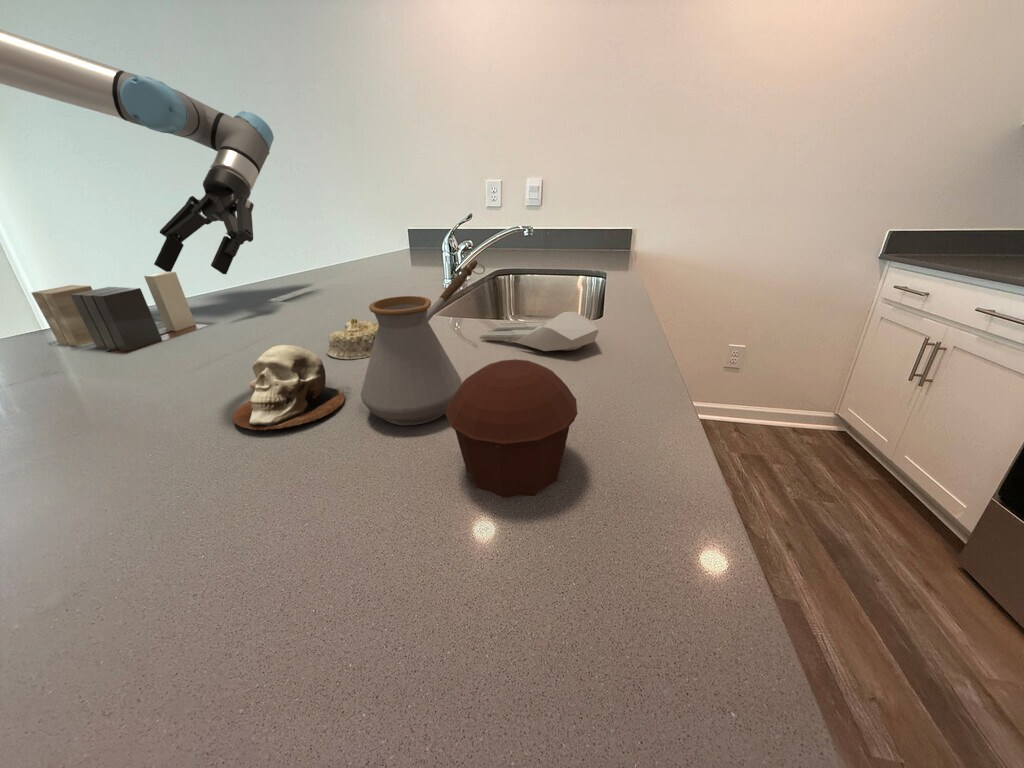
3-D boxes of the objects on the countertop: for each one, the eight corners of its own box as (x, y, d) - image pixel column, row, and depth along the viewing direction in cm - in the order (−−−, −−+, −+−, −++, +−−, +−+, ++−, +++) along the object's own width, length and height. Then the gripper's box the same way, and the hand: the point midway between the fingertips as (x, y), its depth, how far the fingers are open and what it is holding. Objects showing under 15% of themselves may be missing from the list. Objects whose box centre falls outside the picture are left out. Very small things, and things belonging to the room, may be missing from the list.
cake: (395, 340, 72) (393, 310, 70) (381, 363, 63) (378, 330, 61) (338, 337, 72) (334, 308, 69) (316, 360, 63) (310, 327, 60)
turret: (505, 338, 77) (500, 313, 75) (608, 337, 67) (606, 308, 65) (475, 356, 69) (470, 329, 67) (588, 358, 59) (585, 326, 57)
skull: (304, 434, 42) (224, 362, 40) (265, 476, 47) (192, 413, 45) (369, 381, 52) (308, 322, 50) (331, 420, 57) (274, 367, 55)
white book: (166, 330, 75) (143, 275, 71) (187, 324, 78) (166, 271, 74) (175, 331, 74) (153, 276, 70) (195, 324, 78) (175, 271, 73)
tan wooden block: (50, 352, 69) (17, 293, 65) (142, 325, 82) (119, 274, 78) (84, 356, 67) (52, 295, 63) (172, 328, 80) (151, 275, 76)
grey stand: (93, 356, 67) (61, 295, 63) (180, 328, 80) (159, 276, 76) (129, 360, 65) (99, 297, 61) (212, 331, 78) (192, 277, 74)
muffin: (497, 422, 45) (493, 337, 41) (592, 450, 40) (599, 356, 36) (426, 484, 36) (411, 383, 32) (537, 530, 31) (537, 417, 27)
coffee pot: (422, 445, 42) (401, 301, 35) (343, 420, 47) (312, 289, 40) (518, 369, 58) (516, 261, 52) (453, 356, 63) (444, 257, 57)
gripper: (294, 193, 84) (259, 282, 77) (199, 196, 90) (159, 278, 83) (267, 163, 77) (226, 258, 70) (166, 168, 83) (119, 256, 76)
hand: (189, 269), depth 77 cm, fingers open, 13 cm apart
